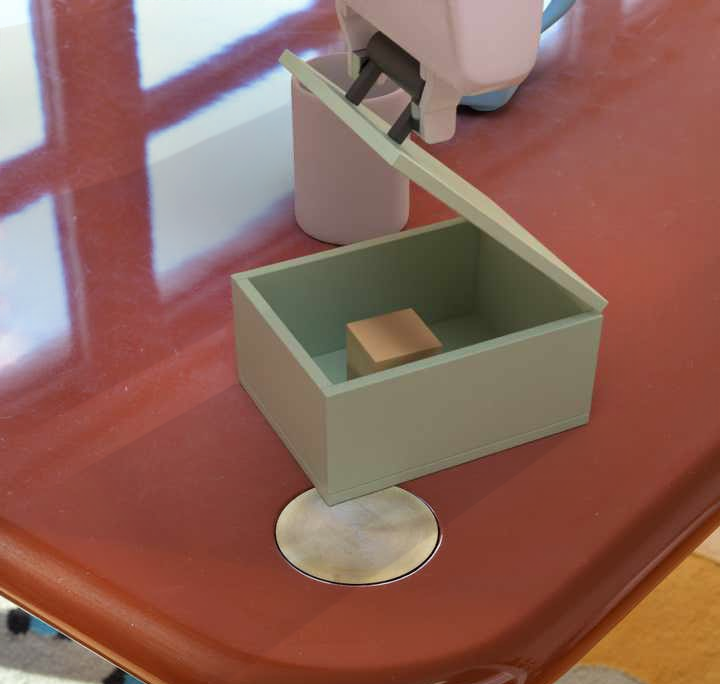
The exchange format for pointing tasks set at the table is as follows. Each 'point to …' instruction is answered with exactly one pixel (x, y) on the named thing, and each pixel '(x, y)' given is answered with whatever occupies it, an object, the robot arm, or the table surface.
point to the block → (388, 343)
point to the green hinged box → (420, 378)
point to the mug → (345, 163)
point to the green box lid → (428, 156)
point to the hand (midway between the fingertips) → (400, 108)
